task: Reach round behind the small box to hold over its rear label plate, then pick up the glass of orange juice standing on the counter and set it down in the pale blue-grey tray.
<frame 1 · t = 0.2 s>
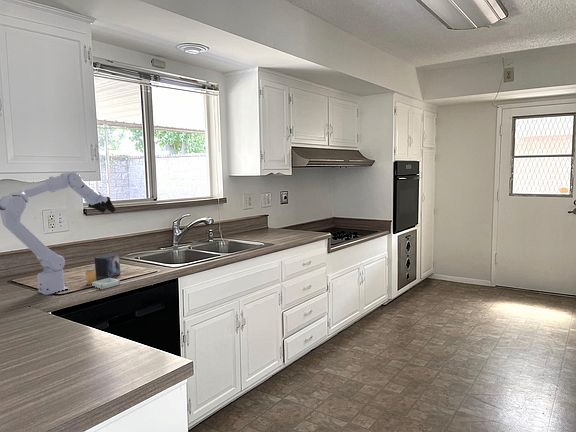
hand: (109, 211, 202), 31 cm above the worktop, tool tilted 45°, fingers open, 7 cm apart
tray: (106, 285, 189), on the worktop
small box: (108, 278, 203), on the worktop
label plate: (101, 275, 207), on the worktop
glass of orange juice: (91, 283, 193), on the worktop
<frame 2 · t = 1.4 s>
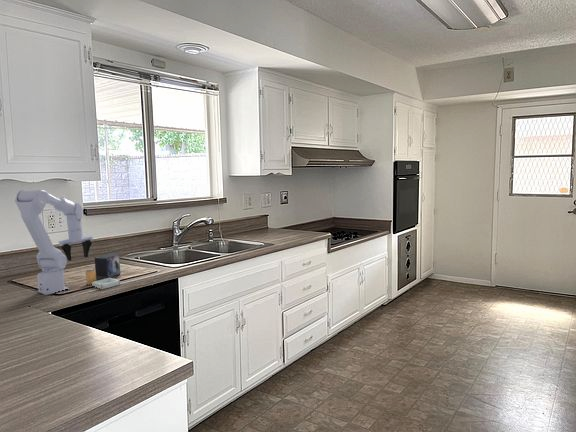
hand: (77, 258, 199), 10 cm above the worktop, tool pointing down, fingers open, 7 cm apart
nothing on the worktop moved.
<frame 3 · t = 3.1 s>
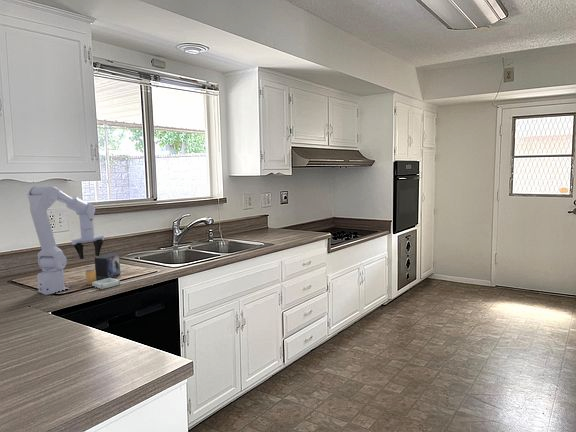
hand: (89, 257, 205), 9 cm above the worktop, tool pointing down, fingers open, 7 cm apart
nothing on the worktop moved.
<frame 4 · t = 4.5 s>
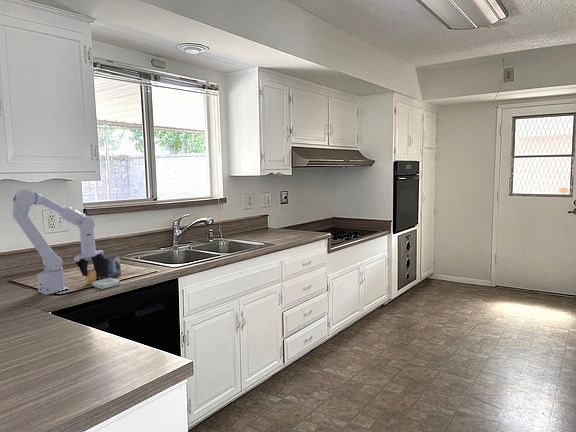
hand: (91, 273, 192), 4 cm above the worktop, tool pointing down, fingers open, 6 cm apart
small box: (109, 278, 203), on the worktop, touching gripper
everything else where it was.
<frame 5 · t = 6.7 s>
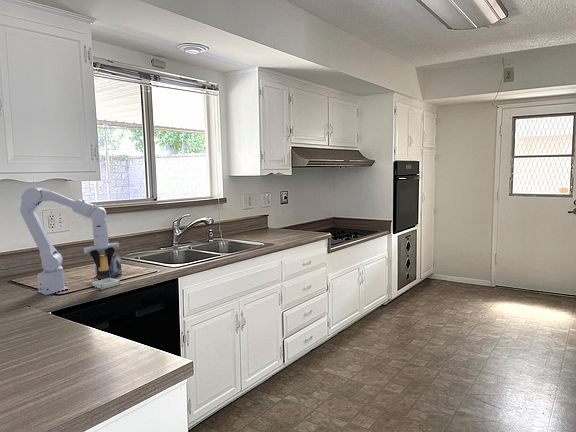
hand: (103, 266, 188), 8 cm above the worktop, tool pointing down, fingers closed on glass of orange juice, 4 cm apart
small box: (110, 277, 204), on the worktop
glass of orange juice: (103, 270, 189), point 7 cm above the worktop, touching gripper
when the fingers open (3 cm above the worktop, at t = 8.1 s): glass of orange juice drops 1 cm, resting on tray.
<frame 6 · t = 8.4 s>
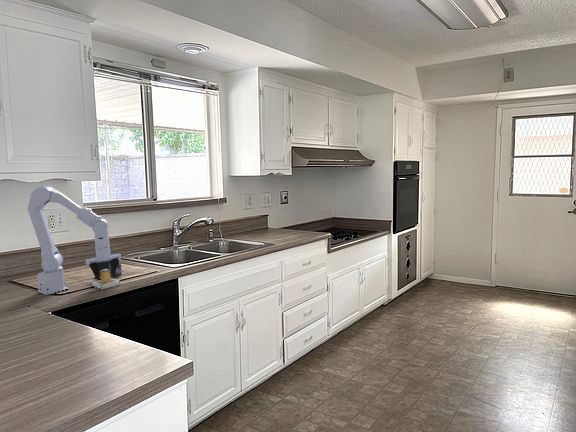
hand: (105, 277, 189), 3 cm above the worktop, tool pointing down, fingers open, 6 cm apart
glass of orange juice: (105, 284, 189), resting on tray
everything else where it was.
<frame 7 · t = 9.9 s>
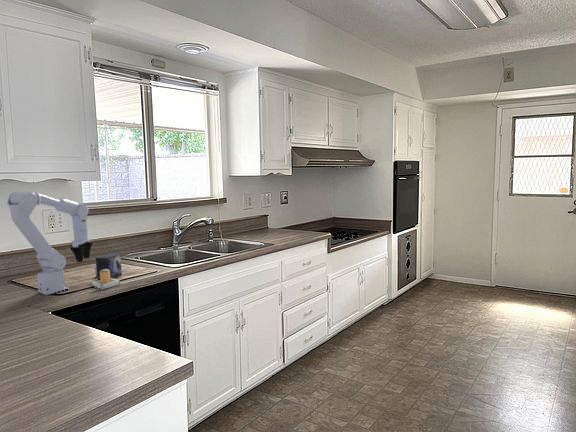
hand: (83, 259, 196), 10 cm above the worktop, tool pointing down, fingers open, 7 cm apart
nothing on the worktop moved.
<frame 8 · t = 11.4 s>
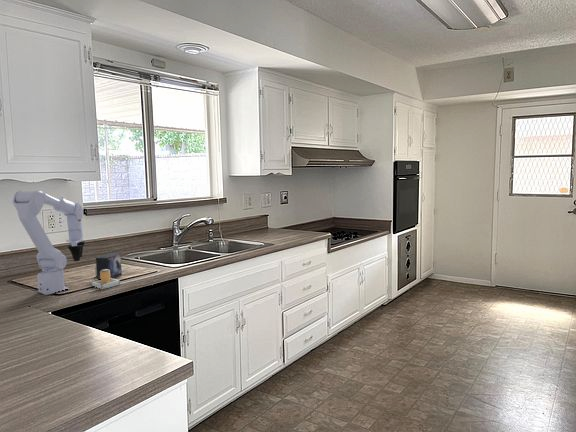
hand: (78, 259, 198), 10 cm above the worktop, tool pointing down, fingers open, 7 cm apart
nothing on the worktop moved.
at the end: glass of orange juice 0.1 cm off-centre on the tray, point 0.4 cm above the tray's base; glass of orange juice tilted 1°; small box moved 0.8 cm from its start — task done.
